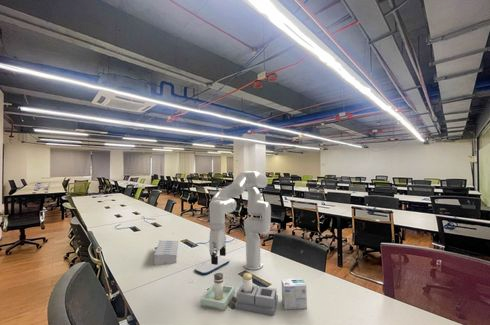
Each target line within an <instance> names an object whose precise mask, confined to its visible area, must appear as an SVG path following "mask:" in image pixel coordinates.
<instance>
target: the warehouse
mask: <svg viewBox="0 0 490 325" xmlns="http://www.w3.org/2000/svg"><path fill="white" fill-rule="evenodd" d="M178 250H179V241H178V240H158V244H157V246H156V249H155V251H154V254H153V265H154V266H160V265H167V264H169V265H170V264H176V263H177V259H178Z"/></svg>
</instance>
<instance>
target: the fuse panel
mask: <svg viewBox="0 0 490 325" xmlns="http://www.w3.org/2000/svg"><path fill="white" fill-rule="evenodd" d="M278 297H279V296H278V295H277V288H275V287H274V288H273V287H272V288H271V287H266V286H265V287H264V286H261V285H259V286H258V285H253V284H252V294H251V293H245V292H243V283H241V284H240V287H239V288H238V290H237V292H236V301H235V303H234V309H237V310H241V311H247V312H253V313H258V314H264V315H269V316H274V315H275V312H276V308H277V305H278V304H277V303H278V300H279V298H278Z"/></svg>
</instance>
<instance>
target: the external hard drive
mask: <svg viewBox="0 0 490 325" xmlns="http://www.w3.org/2000/svg"><path fill="white" fill-rule="evenodd" d="M229 263H230V260H229V259H228V258H225V257H224V256H218V264H217V265H214V264H211V259H210V260H208V261H206V262H204V263H202V264H199V265H198V266H196V267H195V268H194V272H195V273H196V274H199V275H202V276H208V275H210V274H212V273H214V272H216V271H217V270H220V269H221V268H224V267H225V266H227V265H228V264H229Z"/></svg>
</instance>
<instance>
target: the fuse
mask: <svg viewBox="0 0 490 325" xmlns="http://www.w3.org/2000/svg"><path fill="white" fill-rule="evenodd" d="M242 284H243V292H245V293H251V294H252V285H253V274H252V273H251V272H244V273H243V274H242Z"/></svg>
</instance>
